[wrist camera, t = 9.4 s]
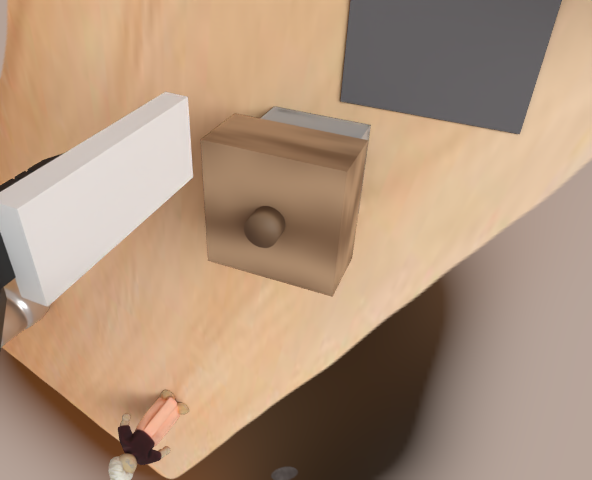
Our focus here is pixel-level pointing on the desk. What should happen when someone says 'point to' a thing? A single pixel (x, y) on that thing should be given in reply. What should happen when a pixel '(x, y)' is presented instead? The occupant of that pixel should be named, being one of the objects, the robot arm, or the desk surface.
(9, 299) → the plastic bottle
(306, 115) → the grey cubby shelf
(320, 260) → the lid
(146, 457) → the grandmother figurine
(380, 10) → the mat
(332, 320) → the desk surface
